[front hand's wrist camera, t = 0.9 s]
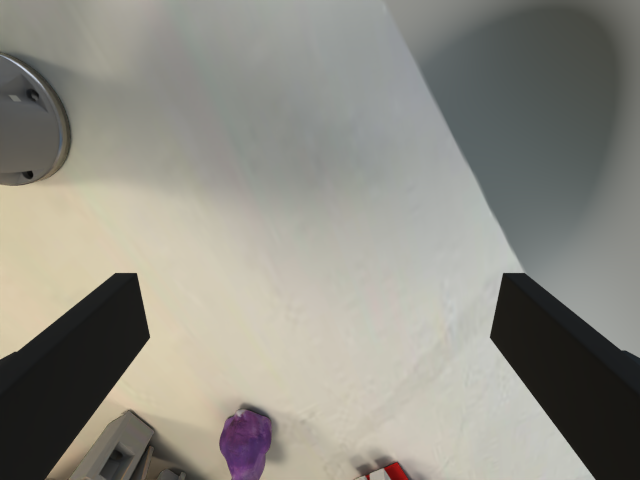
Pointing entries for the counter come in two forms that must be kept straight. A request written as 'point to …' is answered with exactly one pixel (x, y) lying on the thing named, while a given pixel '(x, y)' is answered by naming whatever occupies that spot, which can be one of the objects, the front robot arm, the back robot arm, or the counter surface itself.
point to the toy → (386, 474)
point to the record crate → (121, 453)
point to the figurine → (246, 444)
